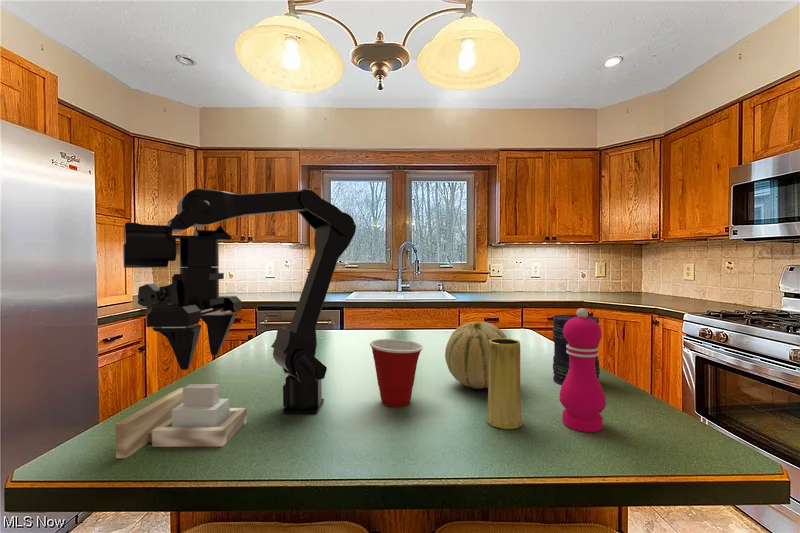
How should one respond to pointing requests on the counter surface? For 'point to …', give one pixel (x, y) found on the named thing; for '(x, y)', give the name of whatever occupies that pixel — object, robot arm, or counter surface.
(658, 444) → the counter surface
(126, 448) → the stand
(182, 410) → the grey stepped block
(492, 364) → the vase
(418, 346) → the plastic cup
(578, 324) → the pepper mill
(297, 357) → the robot arm
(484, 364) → the cantaloupe
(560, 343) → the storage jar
